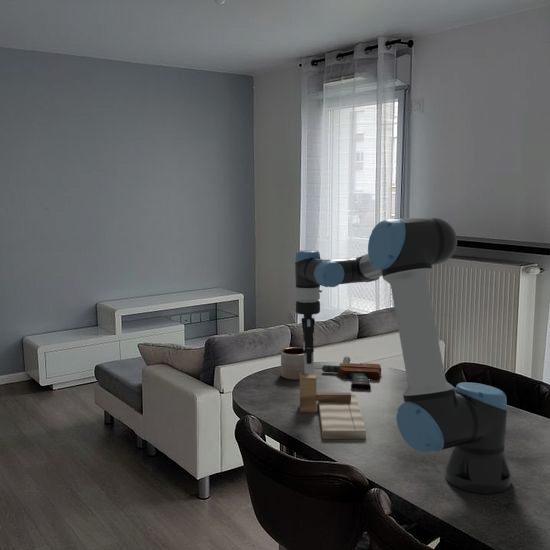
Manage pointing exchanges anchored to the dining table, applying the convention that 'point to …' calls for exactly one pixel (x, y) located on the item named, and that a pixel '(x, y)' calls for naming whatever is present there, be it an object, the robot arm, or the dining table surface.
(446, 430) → the robot arm
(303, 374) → the brown block with tab
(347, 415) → the board
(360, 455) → the dining table surface
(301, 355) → the planter
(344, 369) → the tool
